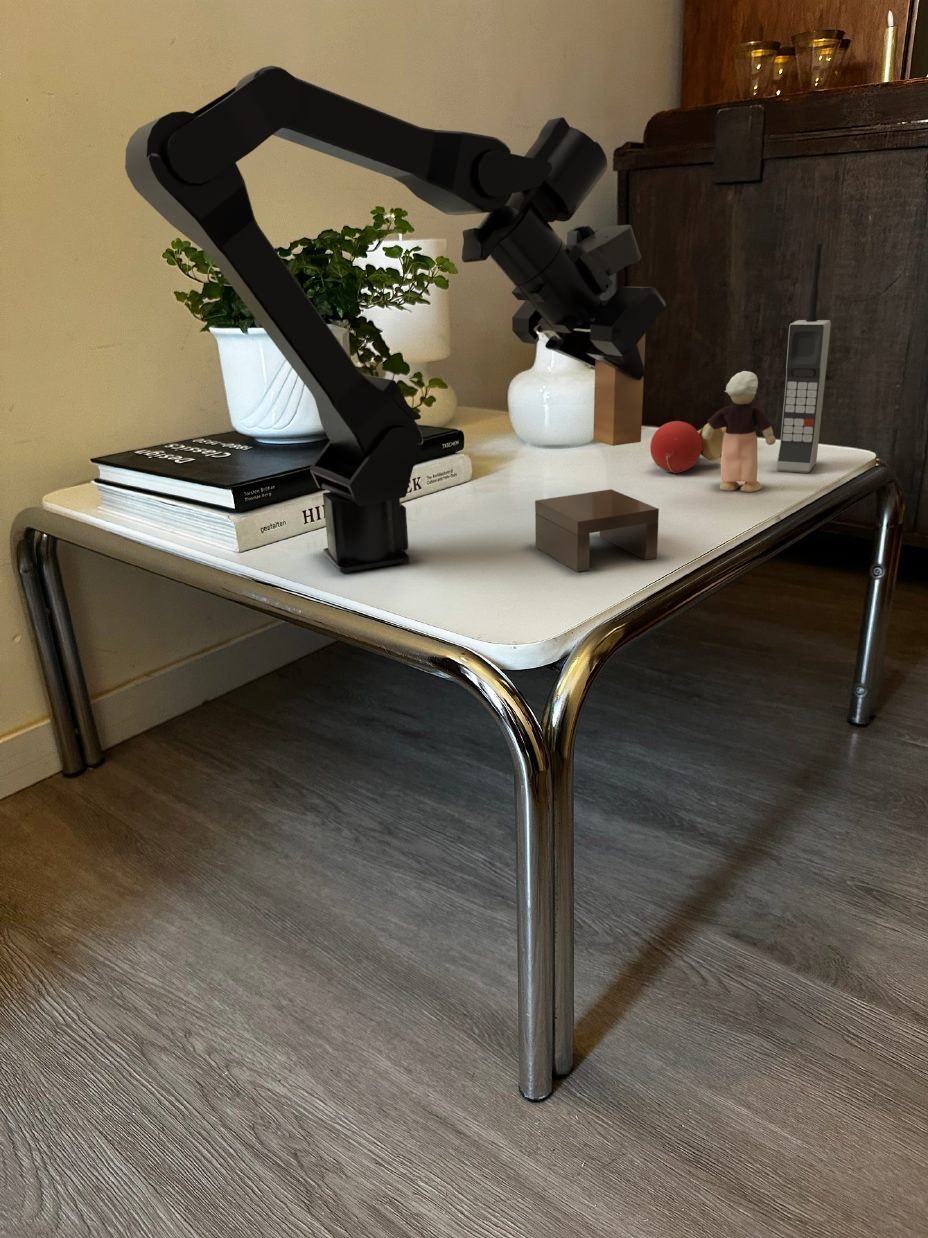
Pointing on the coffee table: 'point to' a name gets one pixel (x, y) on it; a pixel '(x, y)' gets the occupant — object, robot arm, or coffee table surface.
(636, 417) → the block
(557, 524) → the shelf
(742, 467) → the grandmother figurine
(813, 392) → the vintage mobile phone
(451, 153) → the robot arm
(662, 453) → the kendama
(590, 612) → the coffee table surface
